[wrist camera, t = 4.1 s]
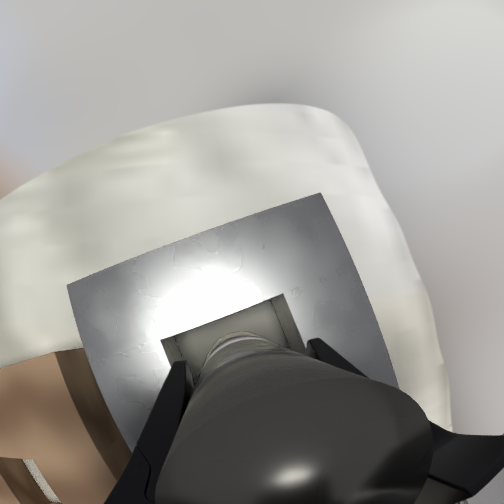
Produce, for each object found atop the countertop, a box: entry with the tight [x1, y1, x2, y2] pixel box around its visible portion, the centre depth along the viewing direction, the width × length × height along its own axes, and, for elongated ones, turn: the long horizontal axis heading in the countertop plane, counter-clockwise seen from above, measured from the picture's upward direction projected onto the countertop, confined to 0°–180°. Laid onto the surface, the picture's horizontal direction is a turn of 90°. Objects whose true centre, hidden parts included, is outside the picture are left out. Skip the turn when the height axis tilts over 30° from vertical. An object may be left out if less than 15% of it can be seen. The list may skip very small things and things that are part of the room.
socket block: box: [67, 193, 399, 452], centre depth 13 cm, size 14×14×4 cm
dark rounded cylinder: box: [155, 332, 433, 504], centre depth 8 cm, size 4×4×13 cm
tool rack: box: [0, 348, 132, 504], centre depth 9 cm, size 18×18×4 cm
